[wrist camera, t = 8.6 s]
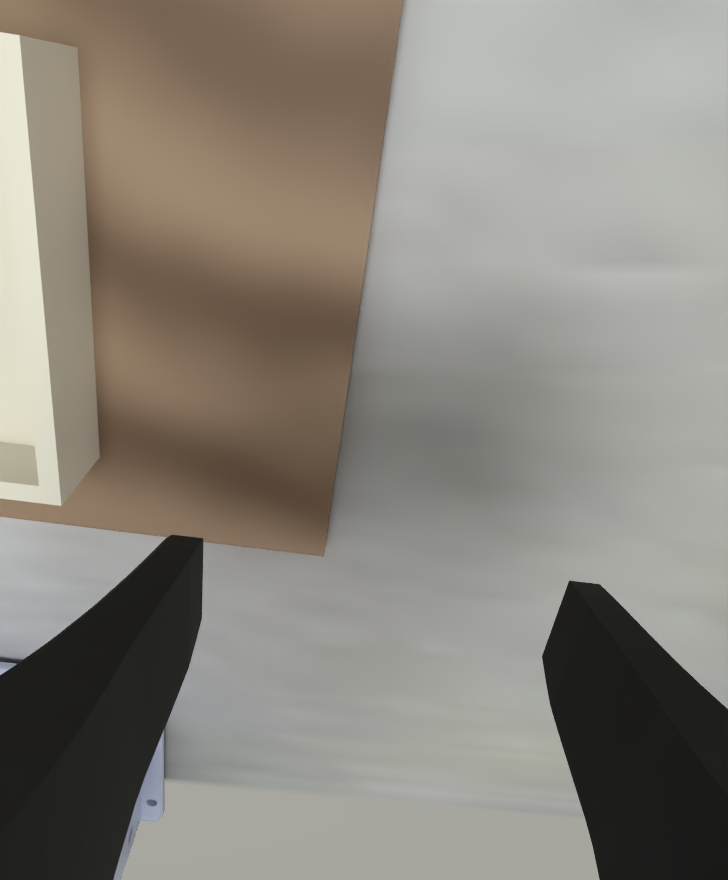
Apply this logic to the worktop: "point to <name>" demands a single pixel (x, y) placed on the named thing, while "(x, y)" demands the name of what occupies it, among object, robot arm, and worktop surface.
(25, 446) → the cream square tray
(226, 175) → the board
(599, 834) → the robot arm
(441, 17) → the worktop surface
